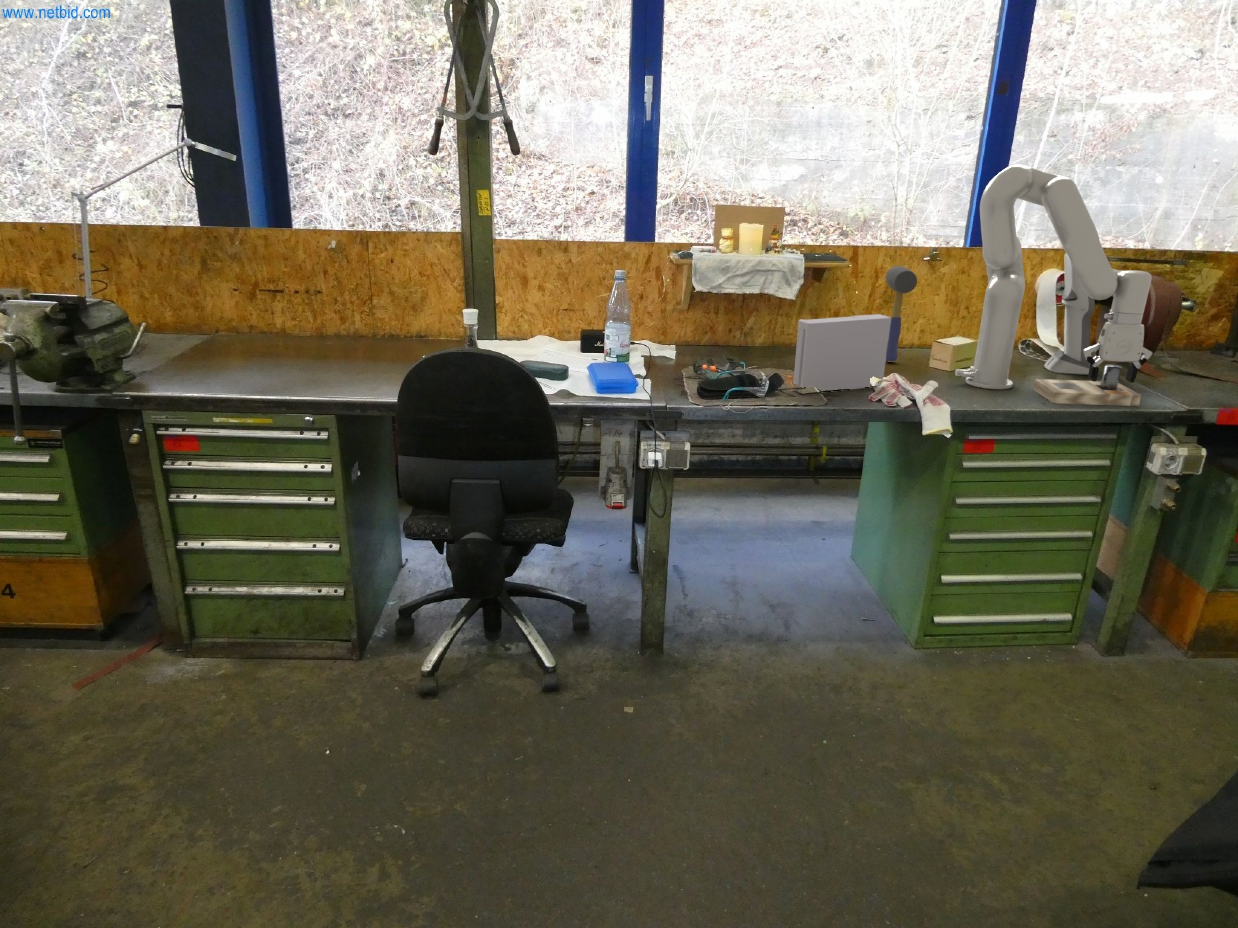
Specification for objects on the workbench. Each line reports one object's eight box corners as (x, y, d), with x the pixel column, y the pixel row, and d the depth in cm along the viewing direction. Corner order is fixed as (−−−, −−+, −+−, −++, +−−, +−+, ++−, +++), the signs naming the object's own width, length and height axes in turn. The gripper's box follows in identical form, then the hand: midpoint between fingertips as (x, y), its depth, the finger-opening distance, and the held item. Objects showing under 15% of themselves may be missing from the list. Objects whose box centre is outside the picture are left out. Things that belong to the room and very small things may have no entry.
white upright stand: (1040, 364, 258) (1062, 252, 246) (1084, 366, 256) (1108, 253, 243) (1050, 373, 248) (1074, 256, 235) (1096, 375, 245) (1122, 258, 232)
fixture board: (1052, 403, 217) (1054, 392, 216) (1033, 389, 230) (1035, 378, 229) (1138, 406, 215) (1141, 395, 214) (1113, 392, 228) (1116, 381, 227)
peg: (1101, 400, 220) (1109, 368, 217) (1095, 396, 224) (1102, 364, 221) (1117, 400, 220) (1124, 368, 217) (1110, 396, 224) (1117, 364, 220)
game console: (789, 389, 228) (795, 319, 220) (869, 381, 237) (878, 314, 229) (800, 395, 222) (807, 323, 215) (882, 386, 232) (891, 317, 224)
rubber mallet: (873, 357, 265) (885, 264, 254) (897, 358, 265) (909, 264, 254) (883, 366, 254) (895, 269, 243) (907, 367, 253) (920, 270, 242)
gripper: (1097, 320, 211) (1083, 383, 217) (1167, 322, 210) (1151, 385, 216) (1085, 315, 218) (1071, 376, 224) (1152, 316, 217) (1137, 378, 223)
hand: (1110, 380), depth 220 cm, fingers open, 9 cm apart
